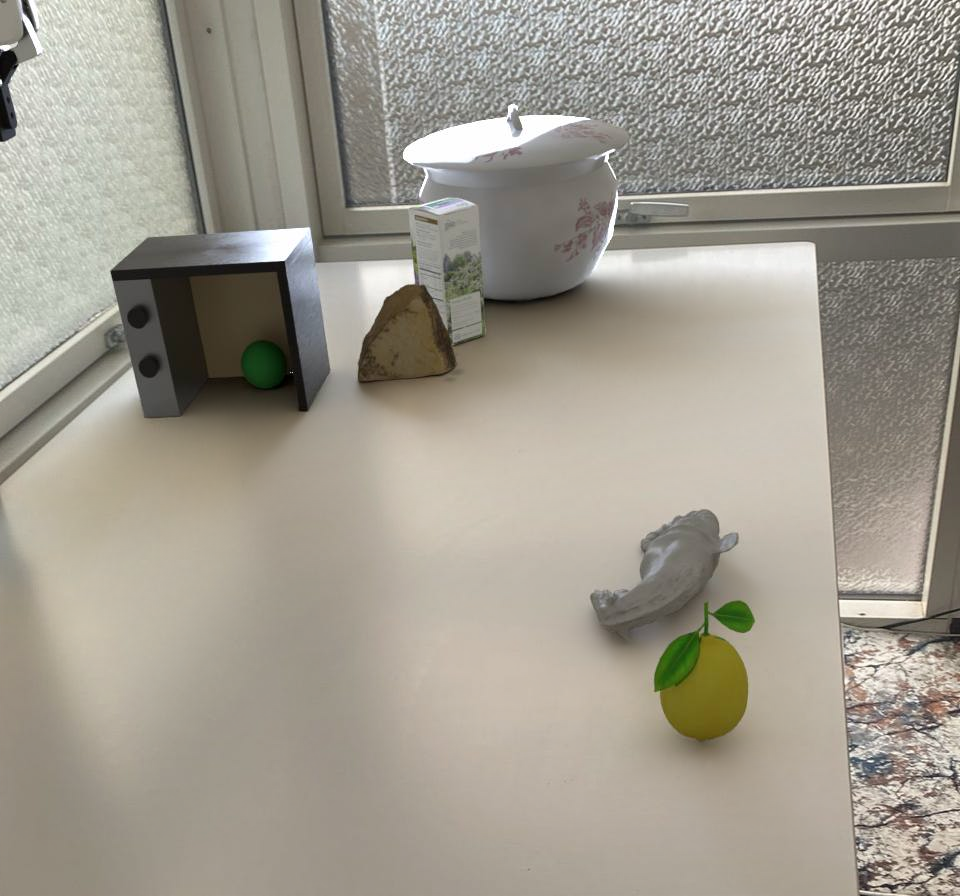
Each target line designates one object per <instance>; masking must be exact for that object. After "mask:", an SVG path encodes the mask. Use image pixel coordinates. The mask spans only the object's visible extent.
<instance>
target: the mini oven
mask: <svg viewBox="0 0 960 896" xmlns="http://www.w3.org/2000/svg"><path fill="white" fill-rule="evenodd" d="M109 272H110V276H111V281H112V285H113V290H114V294H115V297H116V302H117V306H118V310H119V315H120V319H121V324H122V328H123V331H124V336H125V340H126V344H127V350H128V353H129V358H130V361H131V367H132V370H133V374H134V379H135V383H136V388H137V392H138V396H139V400H140V404H141V410H142V414H143V417H144V418H145V419H149V418H175V417H181V416H182V415H183V413H184V412H185V410H186V409H187V408H188V407H189V405H190V404H191V403H192V401H193V400H194V399H195V397H196V396H197V394H198V393H199V392H200V391H201V389H202V388H203V386H205V384H206V382H207V381H208V380H209V379H220V378H239V377H240V378H241V377H245V376H244V374H243V372H242V369H241V358H242V354H243V352H244V350H245V349H246V347H247V346H248V345H250V344H251V343H253V342H255V341H259V340H267V341H270V342H273V343H275V344H276V345H277V346H278V347H280V349H281V350H282V351H283V353H284V355H285V357H286V361H287V370H286V374H285V376H286V375H292V376H293V382H294V388H295V394H296V400H297V402H296V403H297V407H298V411H299V412H308V411H309V410H310V408H311V406H312V405H313V403H314V401H315V399H316V397H317V395H318V393H319V391H320V389H321V388H322V386H323V384H324V383H325V380H326V379H327V377H328V375H329V373H330V371H331V363H330V356H329V350H328V344H327V336H326V329H325V328H326V327H325V324H324V315H323V308H322V301H321V295H320V287H319V281H318V273H317V267H316V259H315V253H314V247H313V239H312V231H311V227H299V228H282V229H265V230H250V231H233V232H231V231H230V232H216V233H198V234H181V235H180V234H179V235H163V236H148V237H146V238H145V239H144V240H143V241H142V242H140V244H138V245H137V246H136V247H135V248H134V249H133V250H131V251H130V252H129V253H128V254H127V255H126V256H125V257H123V259H121V260H120V261H119V262H118V263H117V264H116V265H115V266H113V267H112V269H110V270H109ZM290 372H291V373H290ZM292 372H293V373H292Z"/></svg>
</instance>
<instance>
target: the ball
mask: <svg viewBox="0 0 960 896" xmlns="http://www.w3.org/2000/svg"><path fill="white" fill-rule="evenodd" d="M241 369H242V372H243V374H244V376H243V377H244V378H245V379H246V380H247V382H248V383H249V384H251V385H252V386H254V387H255V388H259V389H265V390H266V389H272V388H274V387H276V386H278V385H279V384H280V383H281V382H282V381H283V380H284V379H285V376H286V375H287V374H286V370H287V361H286V357H285V355H284V353H283V351H282V350H281V349H280V347H278V346H277V345H276V344H275V343H273V342H270V341H267V340H259V341H255V342H253V343H251V344H250V345H248V346H247V347H246V349H245V350H244V352H243V354H242V358H241ZM285 374H286V375H285Z"/></svg>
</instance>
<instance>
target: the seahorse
mask: <svg viewBox="0 0 960 896" xmlns="http://www.w3.org/2000/svg"><path fill="white" fill-rule="evenodd" d="M720 532H721V531H720V522H719V519H718V517H717V516H716V514H715V513H713V512H712V511H711V510H710V509H705V508H702V509H699V510H691V511H689V512H687V513H686V514H685V515H675V516H674V518H672V520H671V521H670V522H667V523H662V525H661V527H660V528H658V529H656V530H653V531H650V532H648V533H647V534H646V536H645V537H644V538H642V539H641V541H640V549H641V551H642V552H644V554H643V557H642V559H641V562H640V566H639V575H640V579H641V581H640V582H639V583H638V584H636V585H635V586H634V587H632V588H631V589H629V590H628V589H625V588H621V589H616V590H614V591H613V592H612V591H610V590H609V589H603V590H598V589H594V591H593V592H591V593H590V595H589V599H590V603H591V606H592V608H593V610H594V611H595V612H596V613H597V616H598V621H599V622H600V626H601V627H604V628H605V630H606V631H607V632H609V633H610V632H611V633H613V632H617V634H618V635H619V636H620V637H621V638H623V639H624V640H625V641H630V640H631V629H635V628H639V627H642V626H645V625H648V624H652V623H655V622H656V621H658V620H660V619H662V618H664V617H667V616H669V615H672V614H674V613H677V612H679V611H680V610H681V609H682V608H683V607H684V606H685V605H686V604H687V603H688V602H689V601H691V600H692V598H694V596H696V595H697V594H698V593H699V592H700V591H701V590H703V588H704V587H705V586H706V585H707V584H708V582H709V580H710V579H712V577H713V575H714V573H715V571H716V570H717V567H718V564H719V561H720V558H721V557H720V556H721V554H723V553H727V552H729V551H731V550H733V548H734V547H736V546H737V545H738V544H739V540H740V538H739V537H740V536H739V533H738V532H730V533H727V534H725V535H723V536H722V537H720Z"/></svg>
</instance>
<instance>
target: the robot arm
mask: <svg viewBox="0 0 960 896" xmlns="http://www.w3.org/2000/svg"><path fill="white" fill-rule="evenodd" d="M39 29H40V21H39V15H38V10H37V6H36V3H35V0H0V143H6V142H7V141H10V140H11V139H13V138H15V137H16V136H17V130H16V129H17V127H18V119H17V115H16V111H15V107H14V102H13V99H12V94H11V90H10V87H9V84H11V83H12V81H13V76H14V74H15V72H16V71H17V69H18V68H19V66H20V64H23V63H24V62H27V61H30V60H32V59H34V58H37V57H40V56H41V55H42V54H43V48H42V46H41V43H40V41H39V39H38V37H37V36H38V35H37V33H38V32H39ZM16 43H17V44H16ZM13 44H16V45H15V46H14V47H11V48H9V46H10V45H13Z"/></svg>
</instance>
